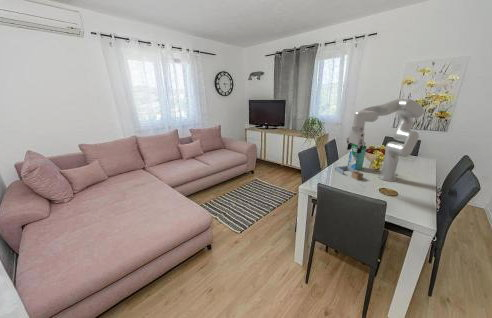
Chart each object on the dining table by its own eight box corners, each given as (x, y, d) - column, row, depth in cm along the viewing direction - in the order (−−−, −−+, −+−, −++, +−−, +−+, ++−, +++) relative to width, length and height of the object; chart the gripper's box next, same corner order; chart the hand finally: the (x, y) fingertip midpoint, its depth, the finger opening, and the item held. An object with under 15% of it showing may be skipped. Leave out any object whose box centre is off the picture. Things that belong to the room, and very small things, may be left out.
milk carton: (362, 168, 187) (367, 143, 179) (355, 170, 184) (360, 144, 176) (354, 165, 195) (358, 141, 187) (347, 167, 192) (351, 142, 183)
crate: (356, 176, 171) (357, 171, 169) (362, 179, 165) (363, 173, 163) (351, 177, 169) (352, 171, 168) (356, 180, 164) (357, 174, 162)
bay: (346, 169, 186) (347, 165, 185) (354, 173, 177) (355, 169, 176) (334, 170, 183) (335, 166, 182) (342, 174, 174) (343, 170, 173)
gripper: (372, 130, 135) (367, 154, 141) (353, 126, 151) (349, 148, 157) (363, 131, 133) (358, 155, 139) (345, 127, 149) (341, 148, 155)
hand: (353, 151), depth 148 cm, fingers open, 9 cm apart
